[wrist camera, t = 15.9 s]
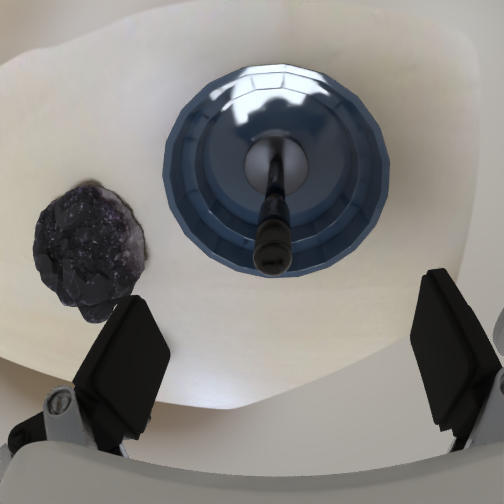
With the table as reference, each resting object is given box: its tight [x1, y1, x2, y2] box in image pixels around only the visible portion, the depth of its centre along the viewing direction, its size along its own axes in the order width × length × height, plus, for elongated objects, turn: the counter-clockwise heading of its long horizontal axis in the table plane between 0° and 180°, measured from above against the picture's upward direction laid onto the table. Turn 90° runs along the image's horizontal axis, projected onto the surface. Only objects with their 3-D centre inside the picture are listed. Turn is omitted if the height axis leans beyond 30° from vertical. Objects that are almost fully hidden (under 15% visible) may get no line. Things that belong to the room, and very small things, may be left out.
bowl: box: [162, 64, 390, 278], centre depth 23 cm, size 16×16×6 cm
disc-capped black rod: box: [244, 132, 309, 276], centre depth 18 cm, size 5×5×16 cm
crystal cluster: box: [33, 185, 145, 323], centre depth 28 cm, size 13×14×10 cm
